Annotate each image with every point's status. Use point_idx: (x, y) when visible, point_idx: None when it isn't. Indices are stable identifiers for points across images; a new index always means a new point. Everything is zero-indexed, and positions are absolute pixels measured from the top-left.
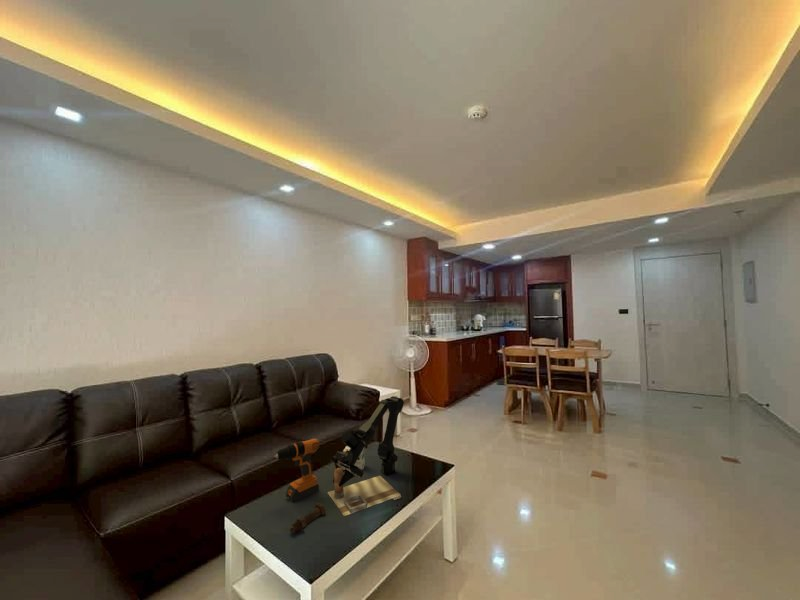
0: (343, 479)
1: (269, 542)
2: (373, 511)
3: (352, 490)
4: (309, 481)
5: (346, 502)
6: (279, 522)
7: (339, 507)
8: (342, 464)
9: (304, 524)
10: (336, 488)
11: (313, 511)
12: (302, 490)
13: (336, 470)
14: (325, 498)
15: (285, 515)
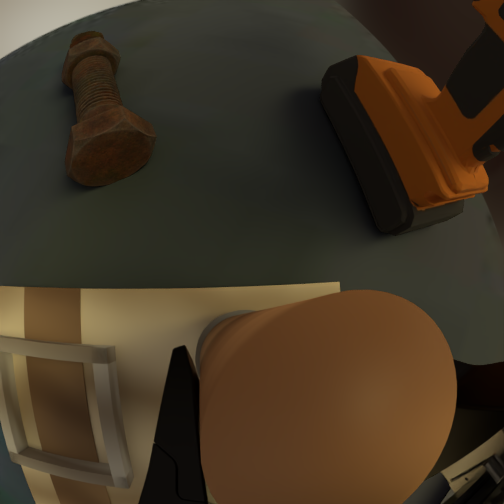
0: (155, 438)
1: (114, 14)
2: (10, 459)
3: None
4: (419, 133)
5: (64, 355)
6: (201, 32)
7: (83, 298)
8: (485, 496)
9: (63, 72)
10: (220, 324)
11: (90, 97)
12: (365, 104)
13: (363, 360)
14: (293, 257)
15: (237, 51)
